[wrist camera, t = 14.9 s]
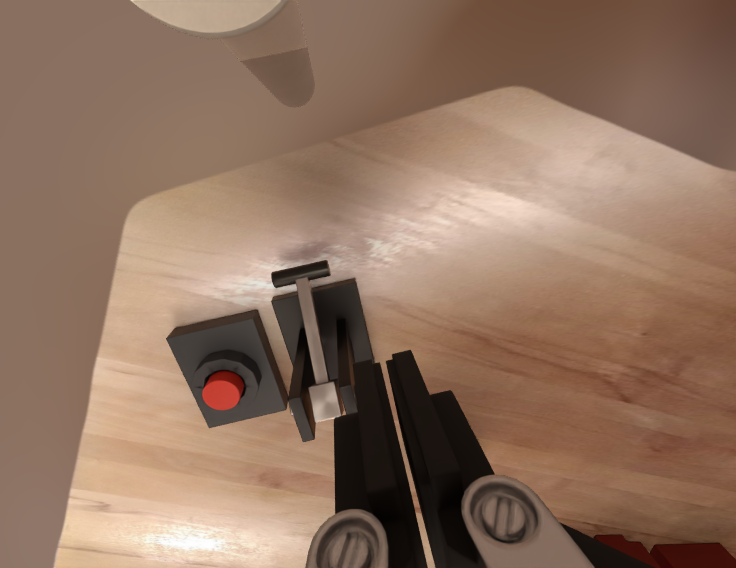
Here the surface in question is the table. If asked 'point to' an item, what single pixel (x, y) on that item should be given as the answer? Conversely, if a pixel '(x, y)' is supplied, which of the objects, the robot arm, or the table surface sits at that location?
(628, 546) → the toy houses
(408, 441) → the robot arm
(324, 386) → the lever
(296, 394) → the bracket
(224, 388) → the button
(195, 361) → the button block
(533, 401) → the table surface
